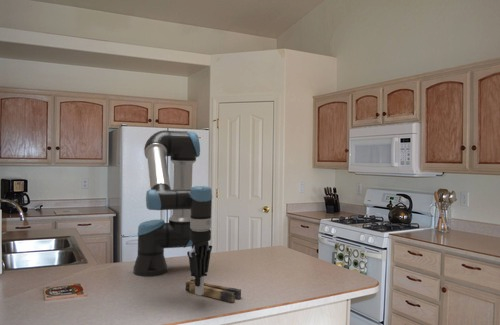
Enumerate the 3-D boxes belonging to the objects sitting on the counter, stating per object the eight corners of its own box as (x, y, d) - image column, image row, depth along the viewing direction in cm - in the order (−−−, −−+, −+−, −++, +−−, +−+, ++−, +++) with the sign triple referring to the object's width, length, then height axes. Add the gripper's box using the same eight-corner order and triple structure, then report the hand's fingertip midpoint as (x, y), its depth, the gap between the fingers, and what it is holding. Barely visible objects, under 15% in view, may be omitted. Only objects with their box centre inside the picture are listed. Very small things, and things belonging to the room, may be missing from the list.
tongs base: (184, 290, 157) (184, 280, 157) (189, 287, 161) (189, 277, 161) (236, 300, 147) (236, 290, 147) (240, 297, 150) (241, 287, 150)
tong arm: (185, 290, 156) (185, 281, 156) (189, 289, 158) (189, 280, 158) (231, 302, 145) (231, 292, 144) (234, 300, 146) (234, 290, 146)
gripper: (199, 233, 136) (197, 302, 137) (218, 227, 148) (217, 290, 149) (181, 231, 140) (179, 297, 140) (201, 225, 151) (200, 287, 152)
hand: (199, 294), depth 144 cm, fingers closed
